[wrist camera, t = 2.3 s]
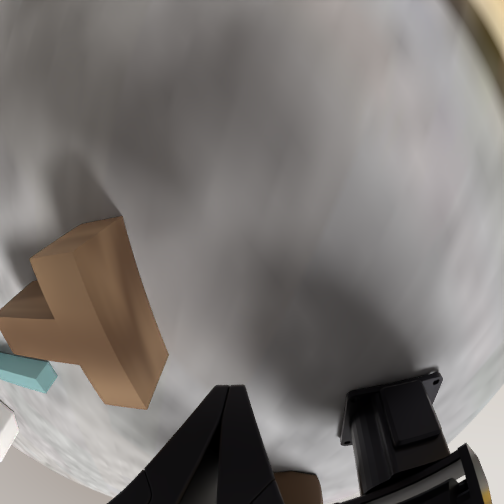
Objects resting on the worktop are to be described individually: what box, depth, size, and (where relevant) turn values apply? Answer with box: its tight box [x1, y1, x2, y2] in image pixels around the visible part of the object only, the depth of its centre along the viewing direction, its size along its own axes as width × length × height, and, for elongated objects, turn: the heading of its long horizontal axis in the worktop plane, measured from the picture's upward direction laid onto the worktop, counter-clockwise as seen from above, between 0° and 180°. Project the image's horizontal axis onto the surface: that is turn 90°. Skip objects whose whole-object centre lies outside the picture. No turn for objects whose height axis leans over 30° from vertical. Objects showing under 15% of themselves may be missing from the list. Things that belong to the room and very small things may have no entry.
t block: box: [0, 216, 169, 410], centre depth 12 cm, size 8×8×4 cm
